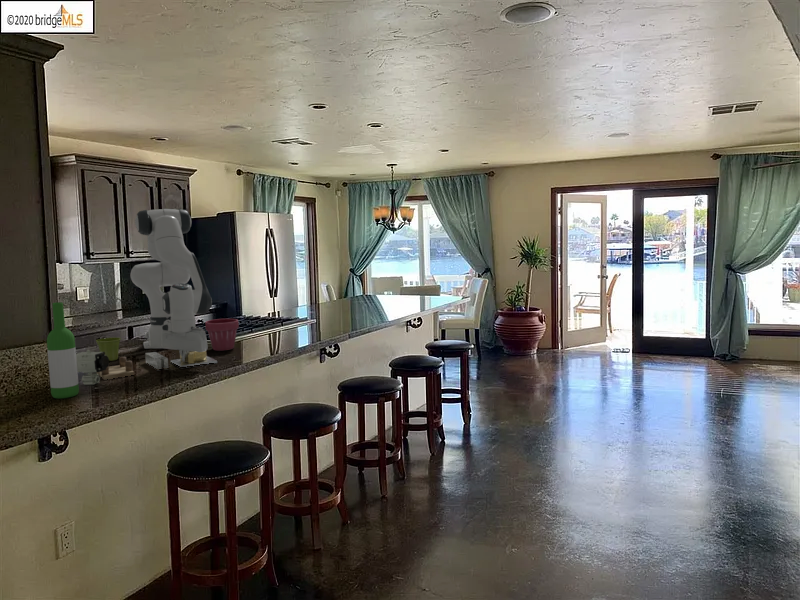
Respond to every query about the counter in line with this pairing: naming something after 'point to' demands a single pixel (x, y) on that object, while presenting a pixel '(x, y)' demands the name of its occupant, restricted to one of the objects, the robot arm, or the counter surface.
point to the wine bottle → (62, 357)
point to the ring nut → (195, 357)
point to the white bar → (156, 360)
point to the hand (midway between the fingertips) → (185, 361)
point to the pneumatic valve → (91, 365)
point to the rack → (118, 370)
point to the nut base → (185, 364)
